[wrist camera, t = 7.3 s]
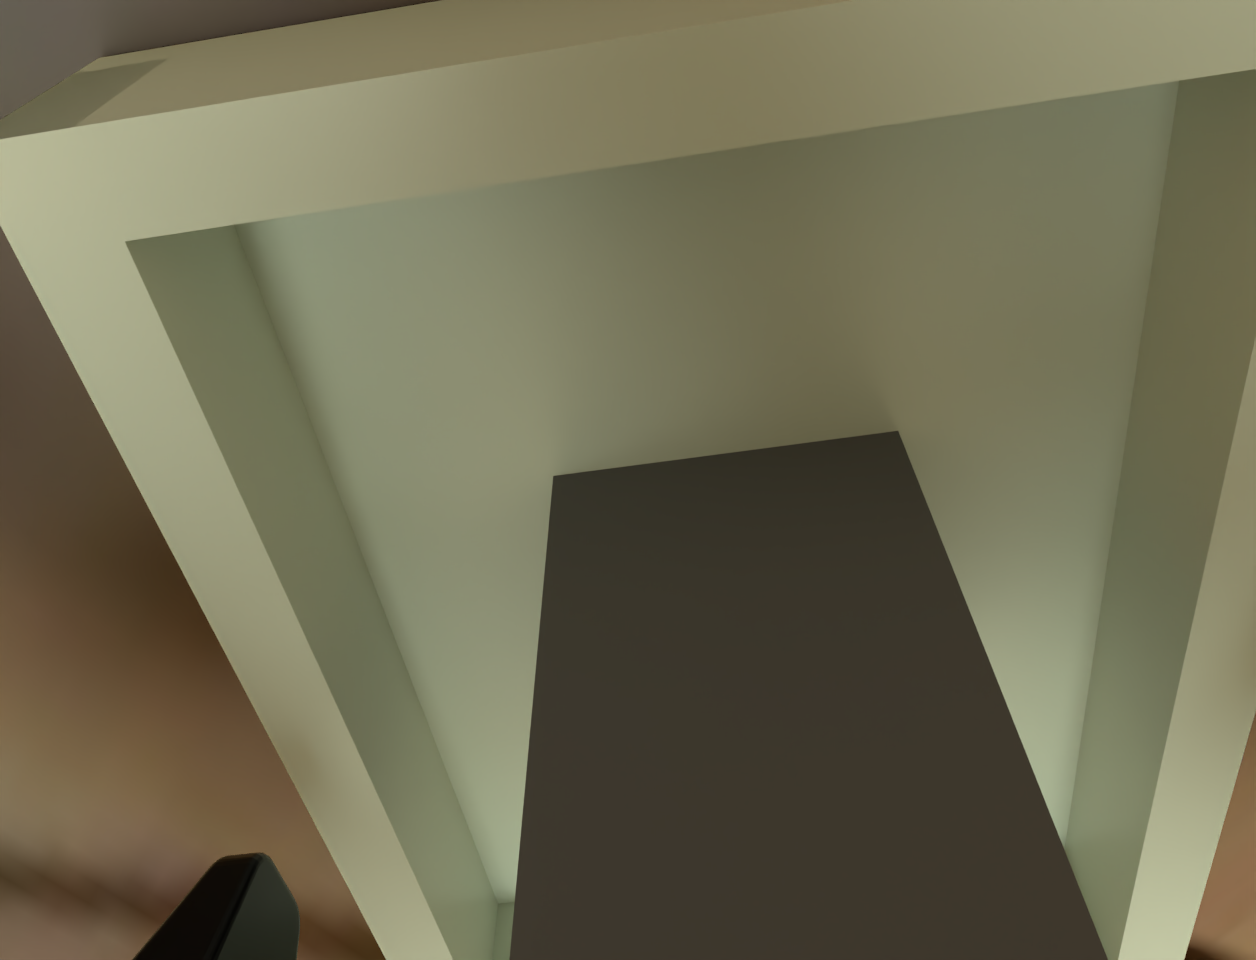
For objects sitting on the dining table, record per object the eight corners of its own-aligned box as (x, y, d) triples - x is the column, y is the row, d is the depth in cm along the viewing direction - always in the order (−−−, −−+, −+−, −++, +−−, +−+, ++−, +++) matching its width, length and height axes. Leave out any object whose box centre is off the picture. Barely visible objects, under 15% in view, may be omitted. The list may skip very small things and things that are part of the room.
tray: (1287, -143, 8) (1492, -105, 6) (1104, 848, 15) (1171, 1004, 13) (99, 58, 9) (-42, 146, 7) (461, 908, 16) (440, 1063, 14)
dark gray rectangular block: (899, 675, 12) (1135, 1472, 7) (609, 707, 13) (599, 1497, 7) (897, 430, 10) (1230, 1270, 5) (552, 476, 11) (476, 1317, 5)
